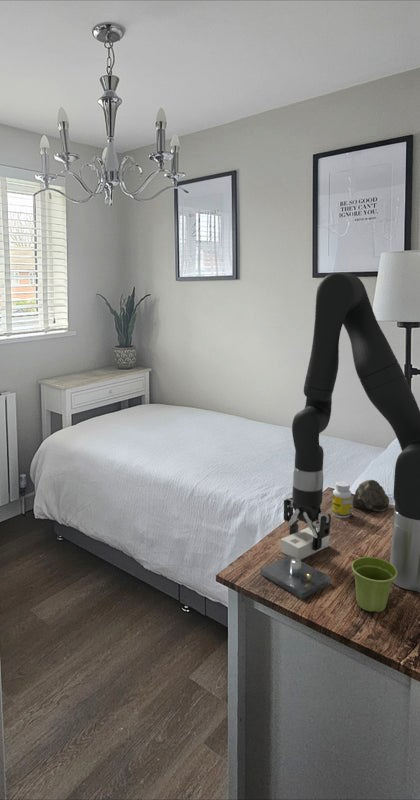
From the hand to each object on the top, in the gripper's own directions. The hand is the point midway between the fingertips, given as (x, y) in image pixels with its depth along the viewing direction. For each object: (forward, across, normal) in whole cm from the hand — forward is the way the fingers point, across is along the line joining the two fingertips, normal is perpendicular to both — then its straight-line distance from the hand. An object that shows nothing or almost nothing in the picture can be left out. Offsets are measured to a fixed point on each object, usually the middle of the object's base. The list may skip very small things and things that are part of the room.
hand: (304, 543), depth 136 cm
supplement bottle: (+2, +7, -24) cm, 25 cm away
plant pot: (+2, -25, +7) cm, 26 cm away
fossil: (+2, +4, -35) cm, 35 cm away
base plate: (+1, -8, +12) cm, 15 cm away
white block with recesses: (+1, 0, 0) cm, 1 cm away
